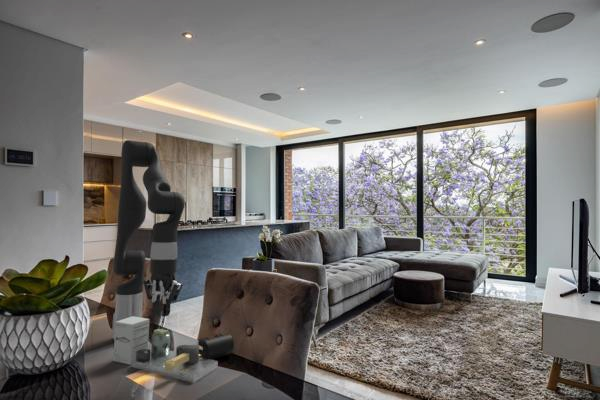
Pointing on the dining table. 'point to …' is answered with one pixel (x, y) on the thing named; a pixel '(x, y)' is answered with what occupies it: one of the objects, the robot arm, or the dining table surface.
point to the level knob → (184, 357)
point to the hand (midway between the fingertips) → (161, 315)
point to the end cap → (216, 346)
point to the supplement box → (130, 338)
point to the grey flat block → (162, 353)
